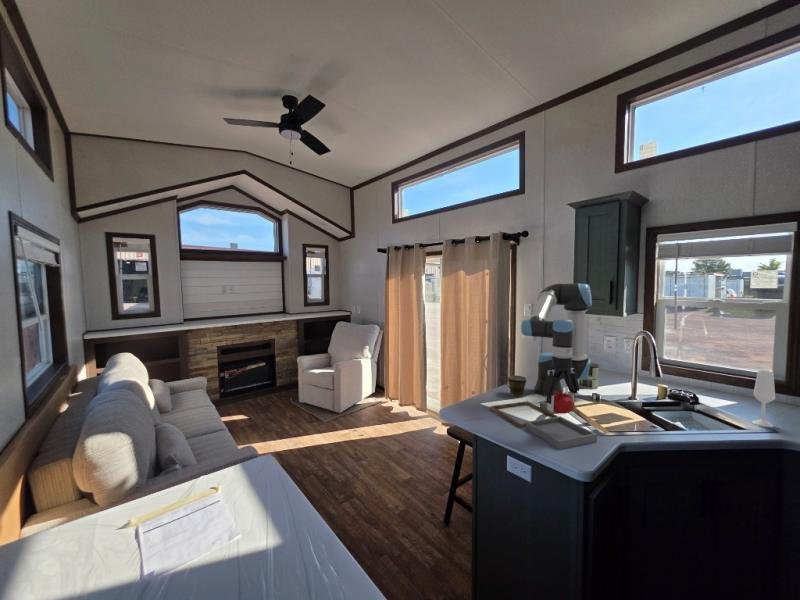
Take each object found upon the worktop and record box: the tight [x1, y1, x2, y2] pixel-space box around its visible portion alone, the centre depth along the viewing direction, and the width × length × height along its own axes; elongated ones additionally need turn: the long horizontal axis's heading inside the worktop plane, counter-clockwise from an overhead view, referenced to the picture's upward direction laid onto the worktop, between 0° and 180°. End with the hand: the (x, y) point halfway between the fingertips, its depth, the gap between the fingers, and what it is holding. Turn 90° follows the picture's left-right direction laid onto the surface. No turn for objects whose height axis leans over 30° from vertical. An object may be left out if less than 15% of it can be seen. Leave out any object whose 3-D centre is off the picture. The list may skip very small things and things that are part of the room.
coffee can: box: [578, 362, 600, 390], centre depth 203 cm, size 10×10×14 cm
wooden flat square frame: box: [489, 400, 559, 429], centre depth 159 cm, size 23×23×2 cm
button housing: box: [539, 400, 558, 415], centre depth 164 cm, size 7×7×4 cm
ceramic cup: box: [504, 375, 527, 398], centre depth 186 cm, size 13×10×10 cm
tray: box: [525, 416, 598, 450], centre depth 138 cm, size 19×19×3 cm
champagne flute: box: [751, 369, 776, 428], centre depth 149 cm, size 7×7×24 cm
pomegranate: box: [552, 389, 575, 415], centre depth 137 cm, size 10×10×9 cm
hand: (560, 409), depth 137 cm, fingers closed on pomegranate, 10 cm apart
